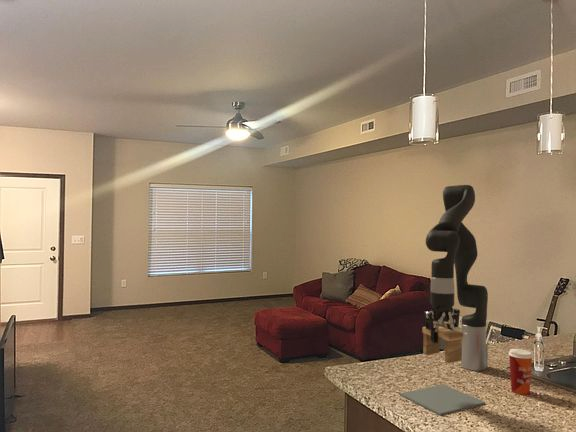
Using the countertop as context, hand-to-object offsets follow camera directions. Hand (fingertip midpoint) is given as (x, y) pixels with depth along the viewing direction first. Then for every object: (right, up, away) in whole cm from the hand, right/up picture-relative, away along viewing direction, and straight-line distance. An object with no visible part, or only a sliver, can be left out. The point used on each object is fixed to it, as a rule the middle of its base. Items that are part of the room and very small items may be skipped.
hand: (442, 341), depth 152 cm
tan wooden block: (0, -5, 0) cm, 5 cm away
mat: (0, -19, 0) cm, 19 cm away
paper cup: (+30, -20, +7) cm, 36 cm away
